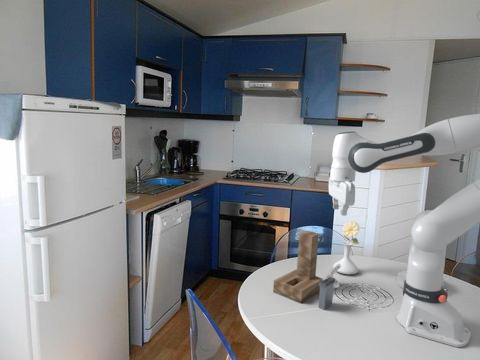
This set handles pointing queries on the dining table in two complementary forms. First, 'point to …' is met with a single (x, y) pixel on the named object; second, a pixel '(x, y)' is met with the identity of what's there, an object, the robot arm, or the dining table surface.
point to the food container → (402, 278)
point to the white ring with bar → (332, 275)
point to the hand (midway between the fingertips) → (339, 211)
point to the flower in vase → (348, 249)
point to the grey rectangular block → (326, 293)
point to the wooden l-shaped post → (301, 272)
